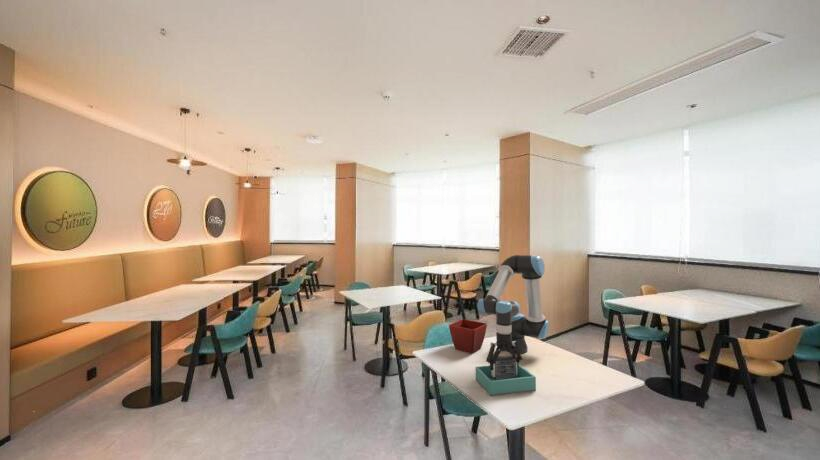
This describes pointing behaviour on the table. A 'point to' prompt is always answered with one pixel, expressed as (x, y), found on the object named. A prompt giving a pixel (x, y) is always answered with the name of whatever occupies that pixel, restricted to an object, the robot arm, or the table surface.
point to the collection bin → (505, 382)
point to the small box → (505, 367)
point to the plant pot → (467, 335)
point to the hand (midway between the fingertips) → (504, 374)
